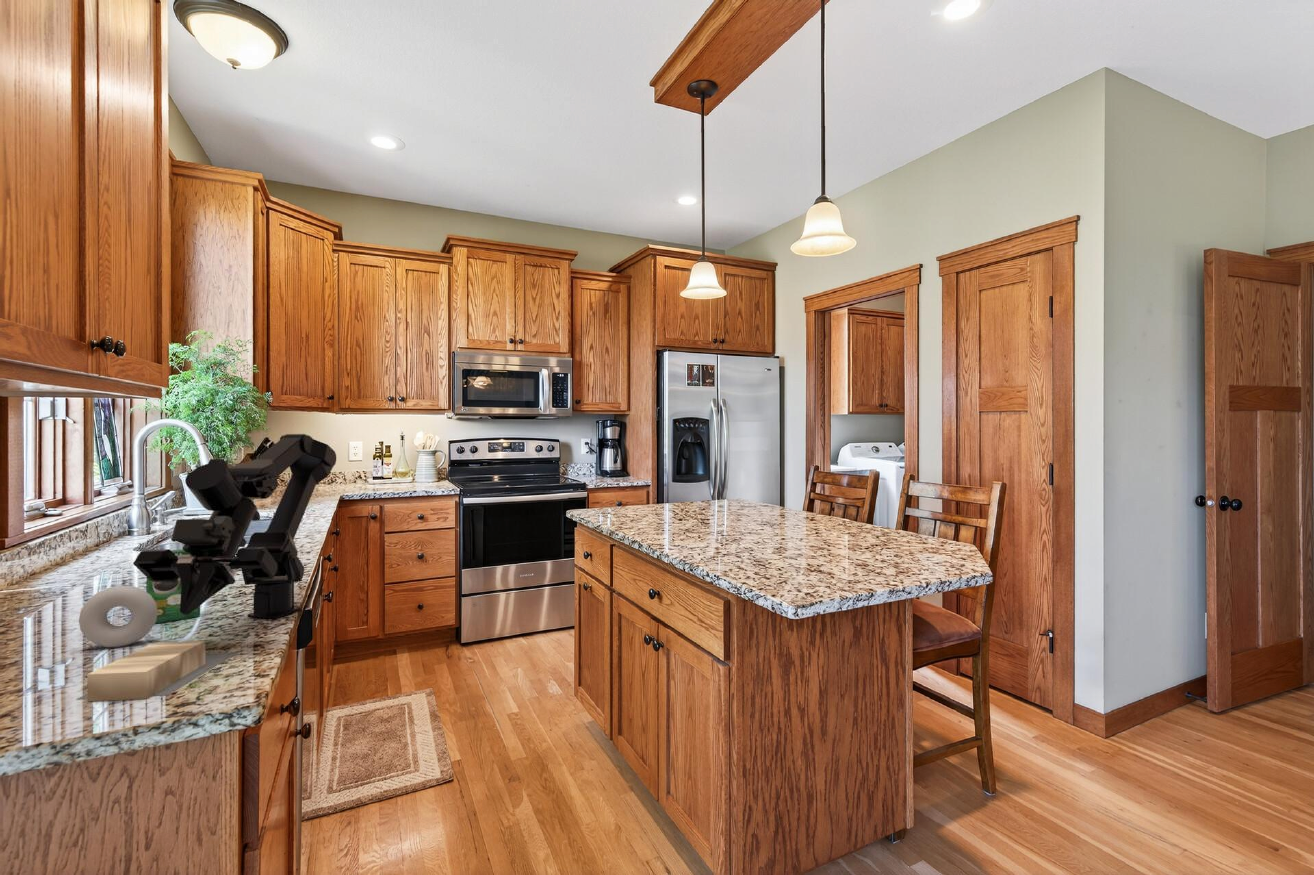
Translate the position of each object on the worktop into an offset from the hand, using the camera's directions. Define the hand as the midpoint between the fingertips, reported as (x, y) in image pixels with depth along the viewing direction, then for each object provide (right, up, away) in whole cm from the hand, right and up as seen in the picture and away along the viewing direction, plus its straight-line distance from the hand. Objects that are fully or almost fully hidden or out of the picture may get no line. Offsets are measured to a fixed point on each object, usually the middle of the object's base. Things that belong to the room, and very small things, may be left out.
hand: (184, 613), depth 91 cm
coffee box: (-19, -8, +22) cm, 31 cm away
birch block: (0, -6, -1) cm, 6 cm away
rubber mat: (0, -8, -4) cm, 9 cm away
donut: (-17, -8, +8) cm, 20 cm away
